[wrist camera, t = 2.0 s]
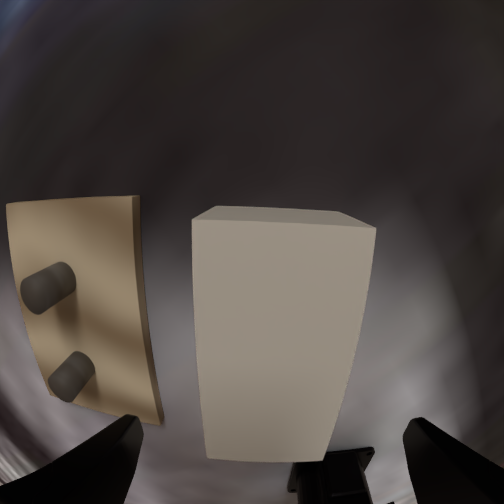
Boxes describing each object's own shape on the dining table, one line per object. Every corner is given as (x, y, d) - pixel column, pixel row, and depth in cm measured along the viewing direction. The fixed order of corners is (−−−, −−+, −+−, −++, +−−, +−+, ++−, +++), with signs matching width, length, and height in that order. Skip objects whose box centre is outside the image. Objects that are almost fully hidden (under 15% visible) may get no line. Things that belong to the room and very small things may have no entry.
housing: (311, 401, 17) (322, 460, 12) (218, 399, 17) (206, 458, 12) (338, 211, 14) (376, 227, 9) (215, 205, 14) (192, 219, 9)
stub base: (164, 416, 18) (148, 456, 14) (55, 388, 18) (32, 416, 14) (140, 195, 14) (100, 202, 10) (15, 202, 14) (-27, 210, 10)
